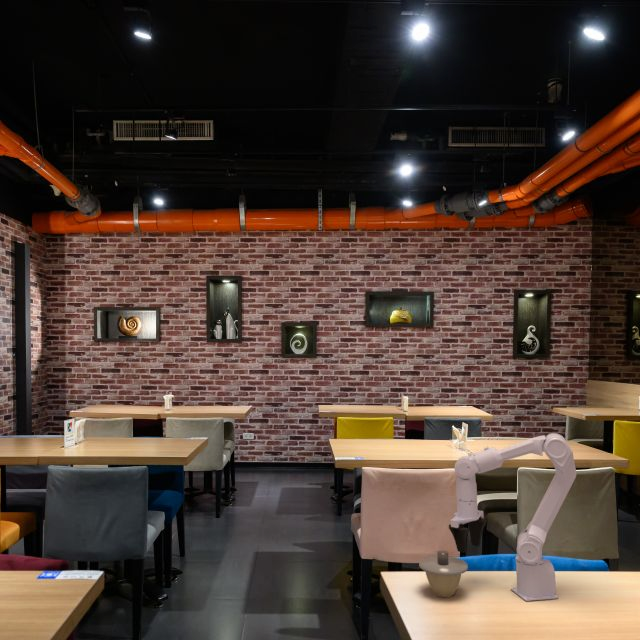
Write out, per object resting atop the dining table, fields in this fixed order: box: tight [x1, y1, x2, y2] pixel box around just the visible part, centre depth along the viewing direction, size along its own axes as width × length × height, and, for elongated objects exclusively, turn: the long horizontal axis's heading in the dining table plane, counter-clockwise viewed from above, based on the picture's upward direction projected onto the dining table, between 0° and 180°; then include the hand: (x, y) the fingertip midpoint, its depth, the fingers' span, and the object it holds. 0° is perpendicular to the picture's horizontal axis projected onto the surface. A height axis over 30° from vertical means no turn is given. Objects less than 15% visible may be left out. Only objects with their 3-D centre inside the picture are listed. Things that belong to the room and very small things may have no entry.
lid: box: [418, 550, 469, 575], centre depth 146 cm, size 13×13×4 cm
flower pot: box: [425, 571, 462, 598], centre depth 146 cm, size 10×10×7 cm
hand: (468, 548), depth 151 cm, fingers open, 7 cm apart
